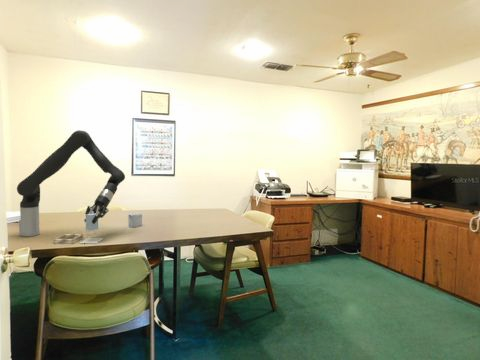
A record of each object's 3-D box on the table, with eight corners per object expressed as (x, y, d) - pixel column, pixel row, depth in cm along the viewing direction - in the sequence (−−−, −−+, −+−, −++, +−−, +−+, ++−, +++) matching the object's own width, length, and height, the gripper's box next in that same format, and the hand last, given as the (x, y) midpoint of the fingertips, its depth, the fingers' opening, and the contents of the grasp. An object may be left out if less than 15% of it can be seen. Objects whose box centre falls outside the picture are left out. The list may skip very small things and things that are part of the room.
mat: (79, 243, 168) (79, 242, 168) (87, 238, 178) (87, 237, 178) (96, 243, 169) (96, 242, 169) (103, 238, 179) (103, 238, 179)
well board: (53, 243, 167) (53, 239, 167) (64, 237, 178) (63, 234, 178) (73, 243, 168) (73, 239, 168) (83, 238, 179) (83, 234, 179)
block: (85, 230, 172) (85, 214, 171) (91, 228, 176) (91, 213, 175) (92, 230, 170) (92, 215, 170) (98, 229, 175) (97, 213, 174)
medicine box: (138, 225, 215) (138, 213, 214) (142, 226, 212) (142, 213, 211) (128, 226, 209) (128, 214, 208) (131, 228, 206) (131, 215, 205)
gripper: (91, 193, 181) (75, 217, 170) (111, 195, 177) (96, 220, 166) (98, 201, 186) (83, 225, 176) (117, 203, 182) (103, 227, 172)
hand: (89, 222), depth 171 cm, fingers closed on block, 4 cm apart
